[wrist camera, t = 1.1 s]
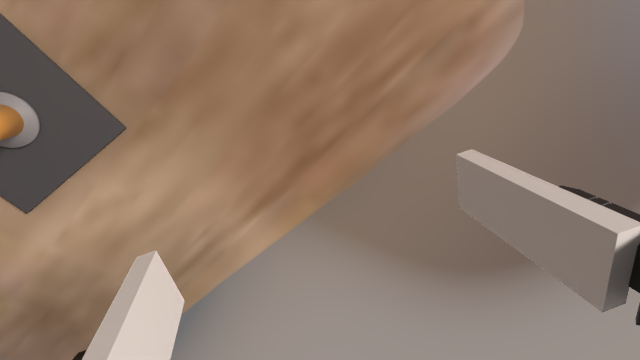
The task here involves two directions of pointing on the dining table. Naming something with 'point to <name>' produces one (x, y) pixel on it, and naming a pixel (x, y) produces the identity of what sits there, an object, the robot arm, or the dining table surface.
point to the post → (17, 121)
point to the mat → (47, 122)
